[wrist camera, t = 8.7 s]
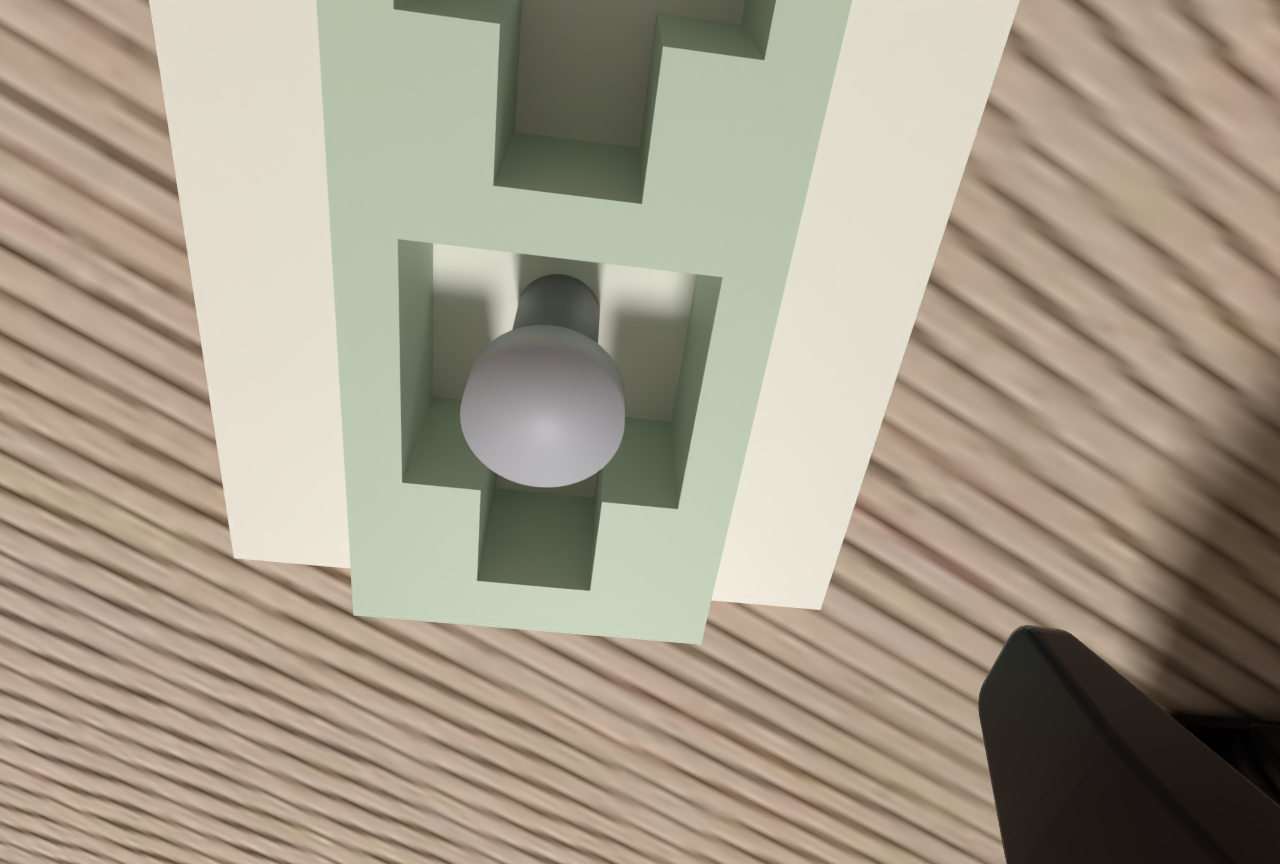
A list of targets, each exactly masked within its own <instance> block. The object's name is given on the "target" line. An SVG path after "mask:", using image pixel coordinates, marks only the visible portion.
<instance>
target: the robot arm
mask: <svg viewBox="0 0 1280 864" xmlns="http://www.w3.org/2000/svg"><path fill="white" fill-rule="evenodd" d="M979 717H980V723H981V728H982V733H983V739H984V744H985V750H986V755H987V761H988V766H989V772H990V777H991V783H992V788H993V794H994V799H995V805H996V810H997V816H998V821H999V827H1000V832H1001V838H1002V843H1003V849H1004V854H1005V858H1006V863H1007V864H1280V722H1272V721H1260V720H1248V719H1235V718H1223V717H1211V716H1199V715H1179V716H1176V717H1171V716H1170V715H1169V714H1168V713H1167V712H1165V711H1164V710H1163V709H1162V708H1160V707H1159V706H1158V705H1157V704H1156V703H1154V702H1153V701H1152V700H1151V699H1150V698H1148V697H1147V696H1146V695H1145V694H1144V693H1142V692H1141V691H1140V690H1139V689H1137V688H1136V687H1135V686H1134V685H1133V684H1131V683H1130V682H1129V681H1128V680H1127V679H1125V678H1124V677H1123V676H1122V675H1120V674H1119V673H1118V672H1117V671H1116V670H1114V669H1113V668H1112V667H1111V666H1110V665H1108V664H1107V663H1106V662H1105V661H1104V660H1102V659H1101V658H1100V657H1099V656H1097V655H1096V654H1095V653H1094V652H1093V651H1091V650H1090V649H1089V648H1088V647H1087V646H1085V645H1084V644H1083V643H1082V642H1081V641H1079V640H1078V639H1077V638H1076V637H1074V636H1073V635H1072V634H1070V633H1069V632H1066V631H1064V630H1060V629H1054V628H1046V627H1039V626H1031V625H1025V626H1020V627H1019V628H1017V629H1016V630H1014V631H1013V632H1012V634H1011V635H1010V637H1009V638H1008V640H1007V642H1006V644H1005V645H1004V647H1003V649H1002V651H1001V652H1000V654H999V656H998V658H997V660H996V661H995V663H994V665H993V667H992V668H991V670H990V672H989V674H988V675H987V677H986V679H985V681H984V683H983V685H982V687H981V691H980V694H979Z"/></svg>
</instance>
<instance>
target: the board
mask: <svg viewBox="0 0 1280 864" xmlns="http://www.w3.org/2000/svg"><path fill="white" fill-rule="evenodd" d="M1019 1H1020V0H852V3H851V8H850V12H849V16H848V21H847V25H846V29H845V33H844V38H843V42H842V46H841V50H840V55H839V59H838V63H837V67H836V72H835V76H834V80H833V84H832V89H831V93H830V97H829V101H828V106H827V110H826V114H825V118H824V123H823V127H822V131H821V136H820V140H819V144H818V148H817V153H816V157H815V161H814V165H813V170H812V174H811V178H810V182H809V187H808V191H807V195H806V199H805V204H804V208H803V212H802V216H801V221H800V225H799V229H798V233H797V238H796V242H795V246H794V251H793V255H792V259H791V263H790V268H789V272H788V276H787V280H786V285H785V289H784V293H783V297H782V302H781V306H780V310H779V314H778V319H777V323H776V327H775V331H774V336H773V340H772V344H771V348H770V353H769V357H768V361H767V366H766V370H765V374H764V378H763V383H762V387H761V391H760V395H759V400H758V404H757V408H756V412H755V417H754V421H753V425H752V429H751V434H750V438H749V442H748V446H747V451H746V455H745V459H744V463H743V468H742V472H741V476H740V480H739V485H738V489H737V493H736V498H735V502H734V506H733V510H732V515H731V519H730V523H729V527H728V532H727V536H726V540H725V544H724V549H723V553H722V557H721V561H720V566H719V570H718V574H717V578H716V583H715V587H714V591H713V595H712V600H715V601H726V602H738V603H749V604H760V605H772V606H783V607H794V608H806V609H817V610H820V609H821V606H822V603H823V600H824V597H825V594H826V591H827V588H828V585H829V582H830V579H831V576H832V573H833V570H834V567H835V564H836V561H837V557H838V554H839V551H840V548H841V545H842V542H843V539H844V536H845V533H846V530H847V527H848V524H849V521H850V518H851V515H852V512H853V509H854V505H855V502H856V499H857V496H858V493H859V490H860V487H861V484H862V481H863V478H864V475H865V472H866V469H867V466H868V463H869V460H870V457H871V454H872V450H873V447H874V444H875V441H876V438H877V435H878V432H879V429H880V426H881V423H882V420H883V417H884V414H885V411H886V408H887V405H888V402H889V398H890V395H891V392H892V389H893V386H894V383H895V380H896V377H897V374H898V371H899V368H900V365H901V362H902V359H903V356H904V353H905V350H906V347H907V343H908V340H909V337H910V334H911V331H912V328H913V325H914V322H915V319H916V316H917V313H918V310H919V307H920V304H921V301H922V298H923V295H924V291H925V288H926V285H927V282H928V279H929V276H930V273H931V270H932V267H933V264H934V261H935V258H936V255H937V252H938V249H939V246H940V243H941V240H942V236H943V233H944V230H945V227H946V224H947V221H948V218H949V215H950V212H951V209H952V206H953V203H954V200H955V197H956V194H957V191H958V188H959V184H960V181H961V178H962V175H963V172H964V169H965V166H966V163H967V160H968V157H969V154H970V151H971V148H972V145H973V142H974V139H975V136H976V133H977V129H978V126H979V123H980V120H981V117H982V114H983V111H984V108H985V105H986V102H987V99H988V96H989V93H990V90H991V87H992V84H993V81H994V77H995V74H996V71H997V68H998V65H999V62H1000V59H1001V56H1002V53H1003V50H1004V47H1005V44H1006V41H1007V38H1008V35H1009V32H1010V29H1011V26H1012V22H1013V19H1014V16H1015V13H1016V10H1017V7H1018V4H1019ZM149 3H150V10H151V16H152V23H153V29H154V36H155V42H156V49H157V56H158V62H159V69H160V75H161V82H162V88H163V95H164V102H165V108H166V115H167V121H168V128H169V134H170V141H171V147H172V154H173V161H174V167H175V174H176V180H177V187H178V193H179V200H180V207H181V213H182V220H183V226H184V233H185V239H186V246H187V252H188V259H189V266H190V272H191V279H192V285H193V292H194V298H195V305H196V311H197V318H198V325H199V331H200V338H201V344H202V351H203V357H204V364H205V371H206V377H207V384H208V390H209V397H210V403H211V410H212V416H213V423H214V430H215V436H216V443H217V449H218V456H219V462H220V469H221V476H222V482H223V489H224V495H225V502H226V508H227V515H228V521H229V528H230V535H231V541H232V548H233V554H234V558H239V559H250V560H261V561H273V562H284V563H295V564H307V565H318V566H329V567H341V568H351V565H350V549H349V532H348V516H347V499H346V482H345V466H344V449H343V433H342V416H341V399H340V383H339V366H338V350H337V333H336V317H335V300H334V283H333V267H332V250H331V234H330V217H329V200H328V184H327V167H326V151H325V134H324V118H323V101H322V84H321V68H320V51H319V35H318V18H317V1H316V0H149ZM744 6H745V0H522V7H521V25H520V44H519V63H518V82H517V101H516V120H515V132H519V133H527V134H535V135H542V136H550V137H558V138H566V139H574V140H581V141H589V142H597V143H605V144H613V145H620V146H628V147H636V148H640V142H641V134H642V126H643V118H644V111H645V103H646V95H647V87H648V79H649V72H650V64H651V56H652V48H653V40H654V33H655V25H656V17H657V13H661V14H668V15H675V16H683V17H690V18H697V19H704V20H711V21H718V22H725V23H732V24H740V25H741V23H742V17H743V11H744ZM696 279H697V274H690V273H682V272H673V271H665V270H656V269H648V268H639V267H631V266H622V265H614V264H605V263H597V262H588V261H580V260H571V259H563V258H554V257H546V256H537V255H529V254H520V253H512V252H503V251H495V250H486V249H478V248H469V247H461V246H452V245H444V244H435V243H433V397H436V398H446V399H456V400H462V402H461V408H460V422H461V427H462V431H463V434H464V437H465V439H466V441H467V443H468V445H469V447H470V449H471V450H472V451H473V453H474V454H475V455H476V457H477V458H478V459H479V460H480V461H481V462H482V463H483V464H484V465H486V466H487V467H488V468H489V469H490V470H492V471H494V472H495V473H497V480H496V489H507V490H517V491H527V492H538V493H548V494H559V495H569V496H579V497H590V498H595V493H596V485H597V477H598V471H599V470H601V469H602V468H603V467H604V466H605V465H606V464H607V463H608V462H609V461H610V460H611V459H612V457H613V456H614V455H615V453H616V451H617V450H618V448H619V446H620V443H621V441H622V438H623V433H624V426H625V417H629V418H638V419H648V420H658V421H667V422H671V421H672V415H673V409H674V404H675V398H676V392H677V386H678V381H679V375H680V369H681V364H682V358H683V352H684V347H685V341H686V335H687V330H688V324H689V318H690V313H691V307H692V301H693V296H694V290H695V284H696Z"/></svg>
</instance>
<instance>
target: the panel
mask: <svg viewBox="0 0 1280 864" xmlns="http://www.w3.org/2000/svg"><path fill="white" fill-rule="evenodd" d="M316 1H317V18H318V35H319V51H320V68H321V84H322V101H323V118H324V134H325V151H326V167H327V184H328V200H329V217H330V234H331V250H332V267H333V283H334V300H335V317H336V333H337V350H338V366H339V383H340V399H341V416H342V433H343V449H344V466H345V482H346V499H347V516H348V532H349V549H350V565H351V582H352V598H353V615H357V616H369V617H381V618H393V619H405V620H416V621H428V622H440V623H452V624H464V625H476V626H488V627H500V628H512V629H523V630H535V631H547V632H559V633H571V634H583V635H595V636H607V637H619V638H631V639H642V640H654V641H666V642H678V643H690V644H701V642H702V638H703V634H704V630H705V625H706V621H707V617H708V613H709V608H710V604H711V600H712V595H713V591H714V587H715V583H716V578H717V574H718V570H719V566H720V561H721V557H722V553H723V549H724V544H725V540H726V536H727V532H728V527H729V523H730V519H731V515H732V510H733V506H734V502H735V498H736V493H737V489H738V485H739V480H740V476H741V472H742V468H743V463H744V459H745V455H746V451H747V446H748V442H749V438H750V434H751V429H752V425H753V421H754V417H755V412H756V408H757V404H758V400H759V395H760V391H761V387H762V383H763V378H764V374H765V370H766V366H767V361H768V357H769V353H770V348H771V344H772V340H773V336H774V331H775V327H776V323H777V319H778V314H779V310H780V306H781V302H782V297H783V293H784V289H785V285H786V280H787V276H788V272H789V268H790V263H791V259H792V255H793V251H794V246H795V242H796V238H797V233H798V229H799V225H800V221H801V216H802V212H803V208H804V204H805V199H806V195H807V191H808V187H809V182H810V178H811V174H812V170H813V165H814V161H815V157H816V153H817V148H818V144H819V140H820V136H821V131H822V127H823V123H824V118H825V114H826V110H827V106H828V101H829V97H830V93H831V89H832V84H833V80H834V76H835V72H836V67H837V63H838V59H839V55H840V50H841V46H842V42H843V38H844V33H845V29H846V25H847V21H848V16H849V12H850V8H851V3H852V0H745V6H744V11H743V17H742V23H741V25H740V24H732V23H725V22H718V21H711V20H704V19H697V18H690V17H683V16H675V15H668V14H661V13H657V17H656V25H655V33H654V40H653V48H652V56H651V64H650V72H649V79H648V87H647V95H646V103H645V111H644V118H643V126H642V134H641V142H640V148H636V147H628V146H620V145H613V144H605V143H597V142H589V141H581V140H574V139H566V138H558V137H550V136H542V135H535V134H527V133H519V132H515V120H516V101H517V82H518V63H519V44H520V25H521V7H522V0H316ZM433 243H435V244H444V245H452V246H461V247H469V248H478V249H486V250H495V251H503V252H512V253H520V254H529V255H537V256H546V257H554V258H563V259H571V260H580V261H588V262H597V263H605V264H614V265H622V266H631V267H639V268H648V269H656V270H665V271H673V272H682V273H690V274H697V279H696V284H695V290H694V296H693V301H692V307H691V313H690V318H689V324H688V330H687V335H686V341H685V347H684V352H683V358H682V364H681V369H680V375H679V381H678V386H677V392H676V398H675V404H674V409H673V415H672V421H671V422H667V421H658V420H648V419H638V418H629V417H625V426H624V433H623V438H622V441H621V443H620V446H619V448H618V450H617V451H616V453H615V455H614V456H613V457H612V459H611V460H610V461H609V462H608V463H607V464H606V465H605V466H604V467H603V468H602V469H601V470H599V471H598V477H597V485H596V493H595V498H590V497H579V496H569V495H559V494H548V493H538V492H527V491H517V490H507V489H496V480H497V473H495V472H494V471H492V470H490V469H489V468H488V467H487V466H486V465H484V464H483V463H482V462H481V461H480V460H479V459H478V458H477V457H476V455H475V454H474V453H473V451H472V450H471V449H470V447H469V445H468V443H467V441H466V439H465V437H464V434H463V431H462V427H461V422H460V408H461V402H462V400H456V399H446V398H436V397H433Z"/></svg>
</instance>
